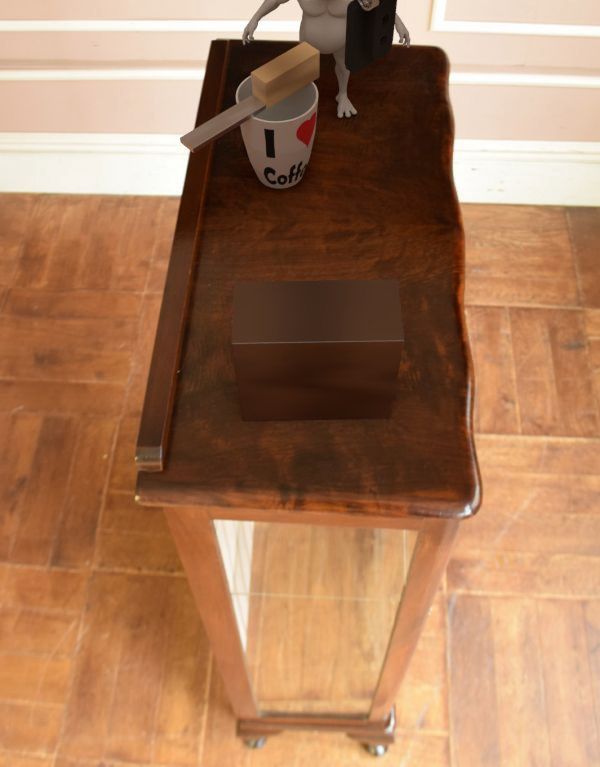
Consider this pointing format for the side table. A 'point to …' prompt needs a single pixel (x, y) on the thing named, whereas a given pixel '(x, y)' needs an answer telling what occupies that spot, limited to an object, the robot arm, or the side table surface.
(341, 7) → the figurine
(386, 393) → the dark rectangular block
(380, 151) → the side table surface
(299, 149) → the cup
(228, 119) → the knife
